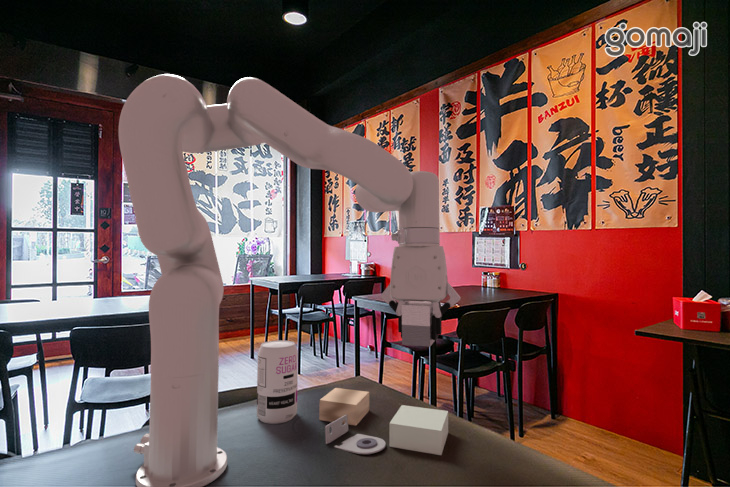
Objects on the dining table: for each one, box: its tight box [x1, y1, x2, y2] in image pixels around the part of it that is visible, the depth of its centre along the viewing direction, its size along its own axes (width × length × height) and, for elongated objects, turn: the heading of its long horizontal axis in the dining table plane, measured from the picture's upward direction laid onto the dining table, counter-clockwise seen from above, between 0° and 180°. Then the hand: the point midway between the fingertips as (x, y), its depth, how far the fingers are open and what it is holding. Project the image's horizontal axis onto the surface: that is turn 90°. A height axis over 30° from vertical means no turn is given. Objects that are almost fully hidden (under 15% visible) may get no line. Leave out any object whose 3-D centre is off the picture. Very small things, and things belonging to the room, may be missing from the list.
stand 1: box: [318, 387, 370, 426], centre depth 81 cm, size 8×8×4 cm
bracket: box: [324, 415, 386, 455], centre depth 68 cm, size 7×10×4 cm, turn 57°
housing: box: [401, 301, 436, 348], centre depth 71 cm, size 7×5×7 cm
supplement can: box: [256, 339, 299, 425], centre depth 80 cm, size 8×8×15 cm
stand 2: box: [388, 404, 449, 456], centre depth 70 cm, size 9×9×4 cm
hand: (419, 336), depth 71 cm, fingers closed on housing, 5 cm apart
